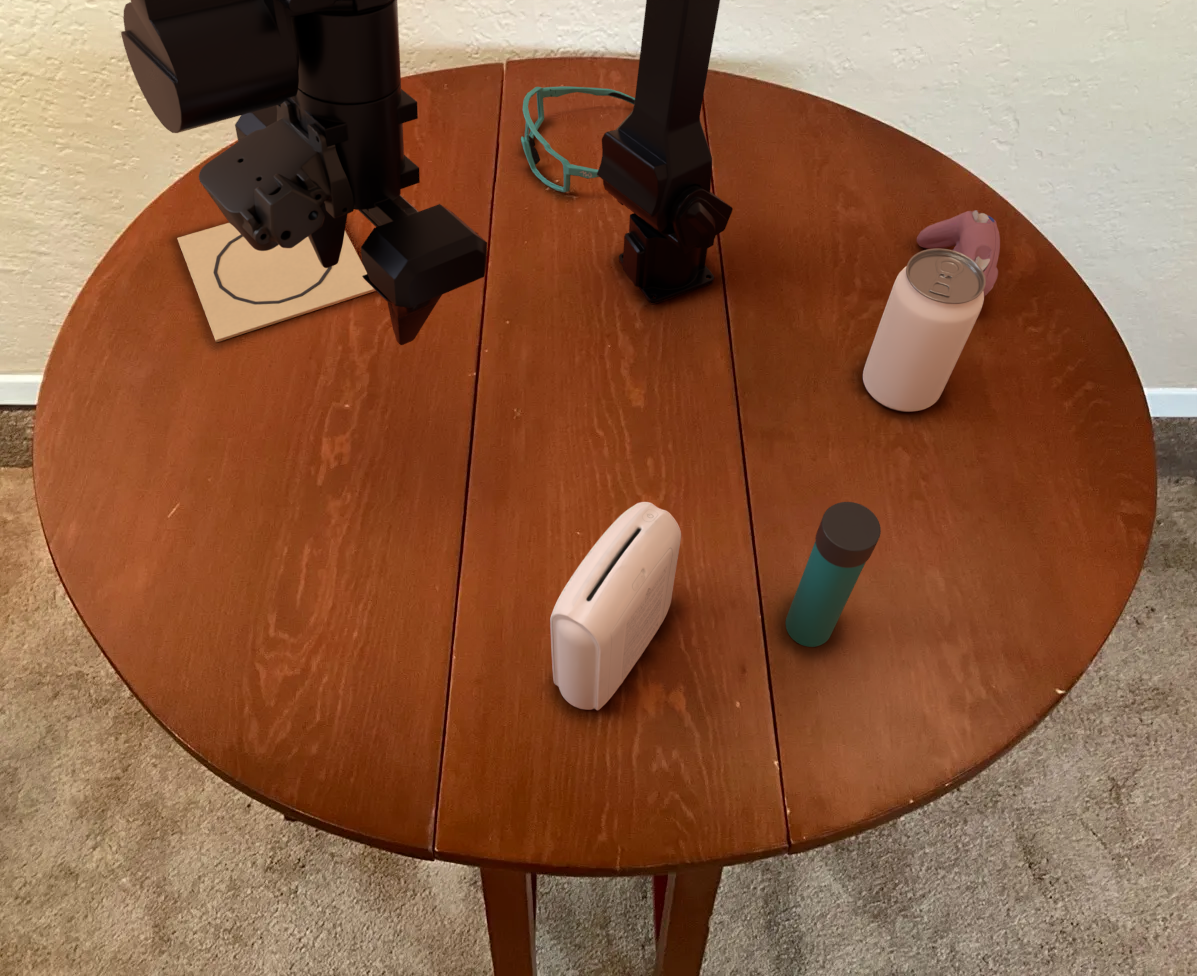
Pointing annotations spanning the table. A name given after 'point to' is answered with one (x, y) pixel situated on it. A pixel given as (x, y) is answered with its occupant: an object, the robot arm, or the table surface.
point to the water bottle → (832, 571)
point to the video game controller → (968, 240)
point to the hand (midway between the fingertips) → (366, 302)
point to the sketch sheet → (265, 280)
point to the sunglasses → (531, 150)
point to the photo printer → (614, 605)
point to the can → (924, 329)
